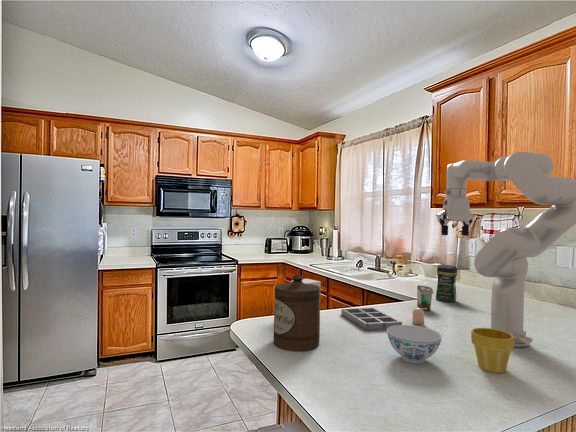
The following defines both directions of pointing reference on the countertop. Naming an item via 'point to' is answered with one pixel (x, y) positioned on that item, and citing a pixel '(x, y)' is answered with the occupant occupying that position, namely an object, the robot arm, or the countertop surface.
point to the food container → (424, 297)
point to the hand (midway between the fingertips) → (454, 235)
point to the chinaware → (414, 342)
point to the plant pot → (492, 348)
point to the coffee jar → (446, 283)
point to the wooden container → (297, 315)
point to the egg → (418, 316)
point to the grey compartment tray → (370, 318)
